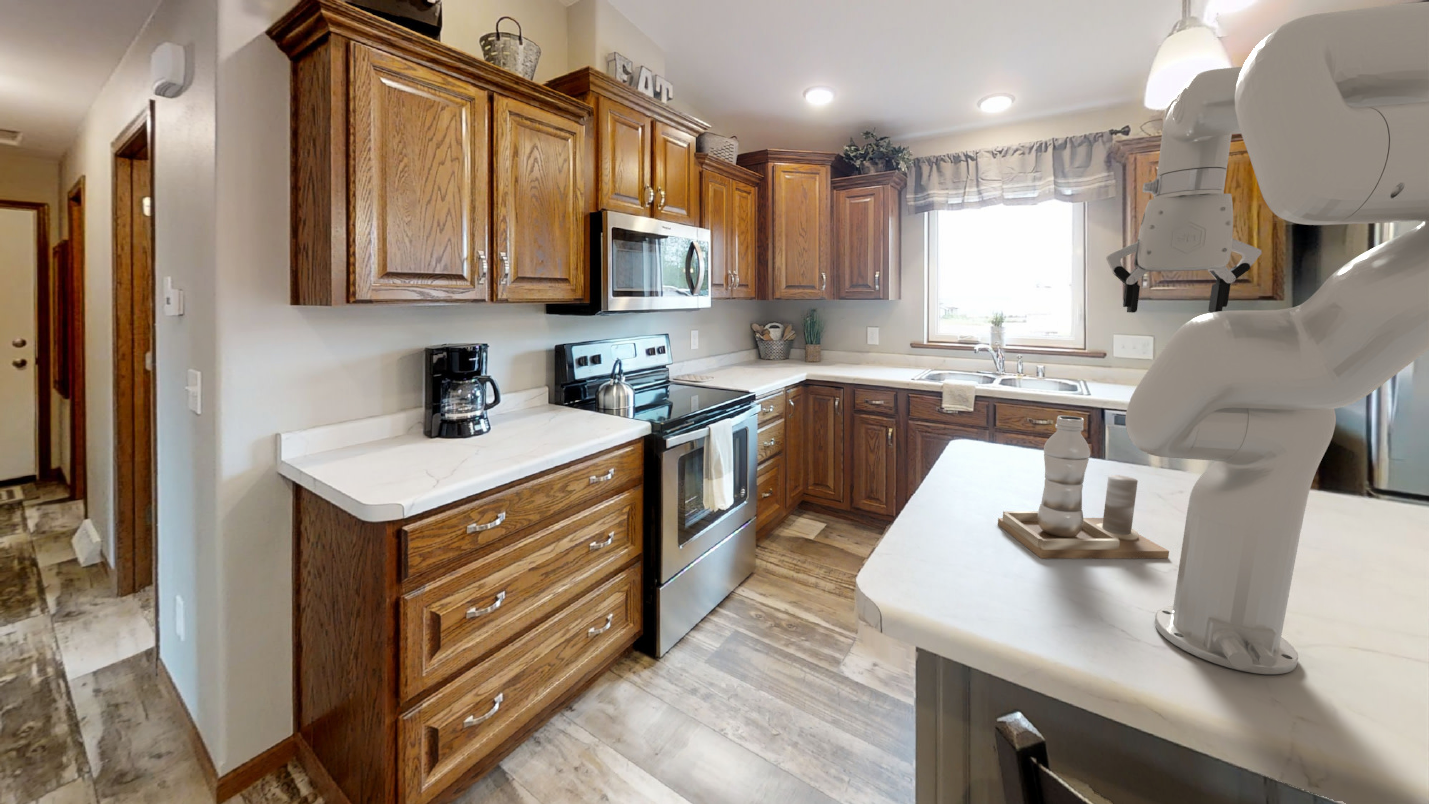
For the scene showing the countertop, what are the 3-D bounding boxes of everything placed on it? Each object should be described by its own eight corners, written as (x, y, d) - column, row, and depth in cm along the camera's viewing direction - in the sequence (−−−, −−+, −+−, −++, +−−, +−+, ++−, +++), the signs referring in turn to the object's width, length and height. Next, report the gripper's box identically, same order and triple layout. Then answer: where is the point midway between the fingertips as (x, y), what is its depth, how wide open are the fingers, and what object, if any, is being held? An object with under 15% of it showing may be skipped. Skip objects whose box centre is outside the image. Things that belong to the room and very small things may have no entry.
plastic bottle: (1088, 543, 92) (1102, 422, 89) (1043, 540, 94) (1055, 421, 90) (1072, 528, 98) (1084, 414, 95) (1030, 525, 100) (1040, 413, 96)
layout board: (1041, 558, 90) (1047, 492, 88) (997, 524, 103) (1002, 467, 101) (1168, 558, 89) (1177, 492, 88) (1107, 524, 103) (1114, 466, 101)
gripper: (1118, 188, 79) (1104, 312, 82) (1283, 176, 72) (1261, 313, 75) (1109, 197, 86) (1096, 311, 89) (1259, 187, 79) (1240, 312, 82)
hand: (1172, 312), depth 82 cm, fingers open, 9 cm apart
